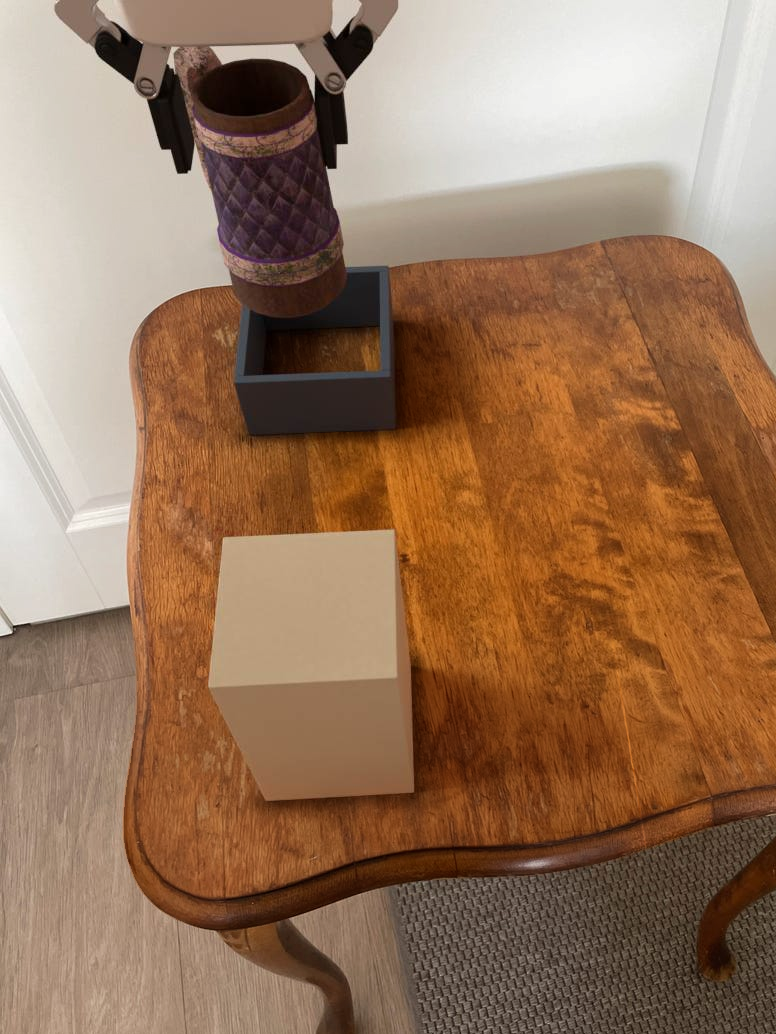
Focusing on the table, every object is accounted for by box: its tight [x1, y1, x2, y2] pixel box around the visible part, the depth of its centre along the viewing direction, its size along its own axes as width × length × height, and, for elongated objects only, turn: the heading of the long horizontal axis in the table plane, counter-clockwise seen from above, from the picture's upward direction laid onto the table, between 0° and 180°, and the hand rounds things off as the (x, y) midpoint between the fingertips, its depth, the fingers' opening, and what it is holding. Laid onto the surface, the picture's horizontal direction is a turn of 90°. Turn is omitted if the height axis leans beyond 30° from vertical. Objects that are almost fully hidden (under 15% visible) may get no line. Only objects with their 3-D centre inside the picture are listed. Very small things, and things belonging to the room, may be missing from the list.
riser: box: [207, 528, 415, 802], centre depth 59 cm, size 10×10×16 cm
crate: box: [233, 265, 397, 436], centre depth 82 cm, size 13×14×6 cm
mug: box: [172, 46, 347, 318], centre depth 53 cm, size 10×7×12 cm
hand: (258, 155), depth 52 cm, fingers closed on mug, 7 cm apart
